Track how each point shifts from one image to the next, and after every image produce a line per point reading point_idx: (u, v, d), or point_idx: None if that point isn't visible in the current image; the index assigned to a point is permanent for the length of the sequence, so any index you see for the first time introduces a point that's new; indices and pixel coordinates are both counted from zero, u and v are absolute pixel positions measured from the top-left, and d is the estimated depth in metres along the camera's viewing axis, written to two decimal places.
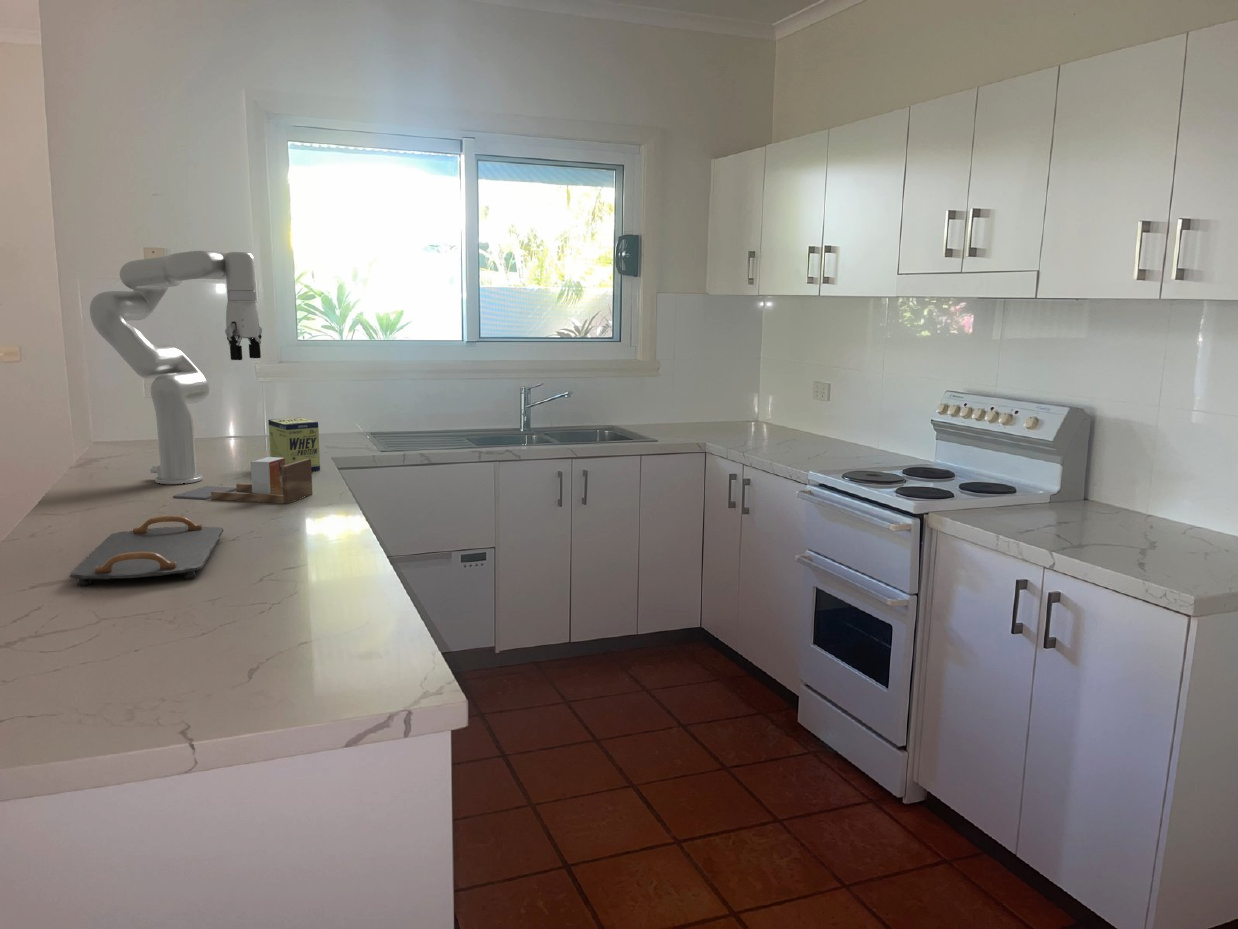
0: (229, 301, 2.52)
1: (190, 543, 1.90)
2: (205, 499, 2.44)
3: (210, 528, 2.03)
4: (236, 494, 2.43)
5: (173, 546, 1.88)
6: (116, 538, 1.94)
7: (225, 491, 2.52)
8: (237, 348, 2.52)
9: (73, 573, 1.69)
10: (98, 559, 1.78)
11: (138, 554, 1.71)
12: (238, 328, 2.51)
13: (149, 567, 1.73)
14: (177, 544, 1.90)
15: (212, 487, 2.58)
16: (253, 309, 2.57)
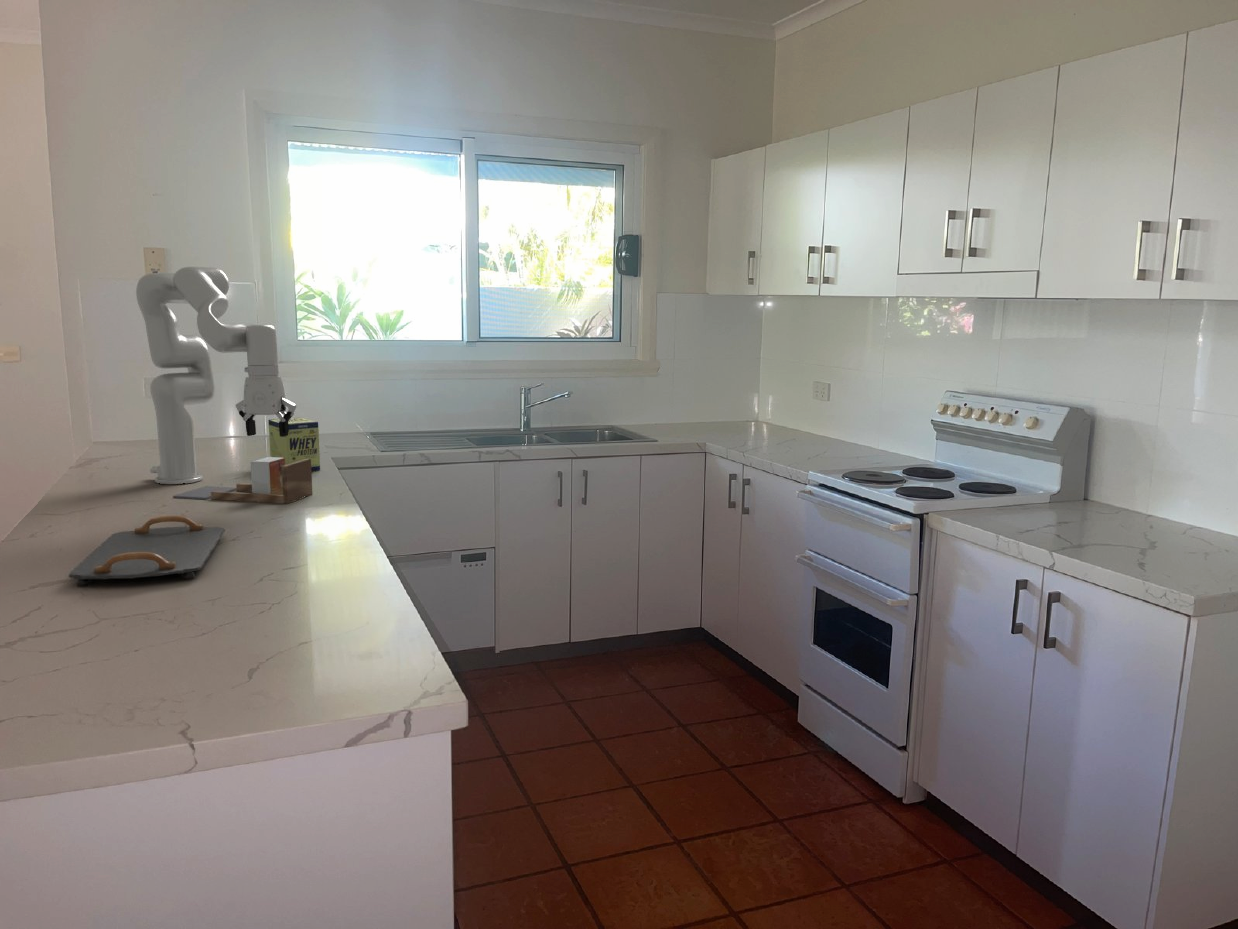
0: (270, 376, 2.40)
1: (190, 543, 1.90)
2: (205, 499, 2.44)
3: (211, 528, 2.03)
4: (236, 494, 2.43)
5: (173, 546, 1.88)
6: (117, 538, 1.94)
7: (225, 491, 2.52)
8: None
9: (72, 573, 1.69)
10: (98, 559, 1.78)
11: (137, 554, 1.71)
12: None
13: (148, 567, 1.73)
14: (177, 544, 1.89)
15: (212, 487, 2.58)
16: None
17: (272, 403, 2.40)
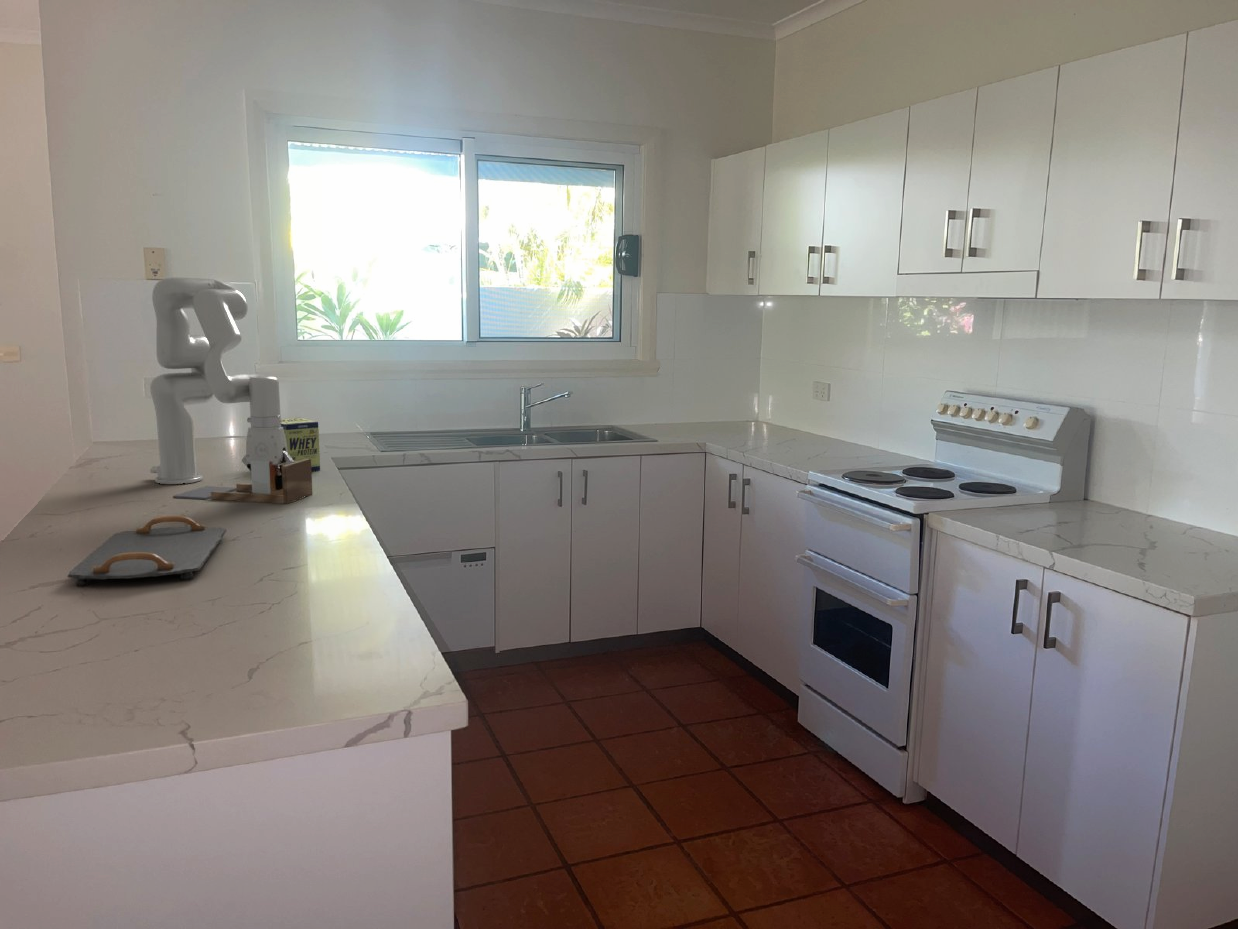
0: (272, 428, 2.42)
1: (191, 543, 1.90)
2: (205, 499, 2.44)
3: (213, 528, 2.03)
4: (236, 494, 2.43)
5: (174, 546, 1.88)
6: (119, 538, 1.94)
7: (225, 491, 2.52)
8: None
9: (71, 573, 1.69)
10: (98, 559, 1.78)
11: (136, 554, 1.70)
12: None
13: (147, 567, 1.73)
14: (178, 544, 1.89)
15: (212, 487, 2.58)
16: None
17: (274, 454, 2.43)
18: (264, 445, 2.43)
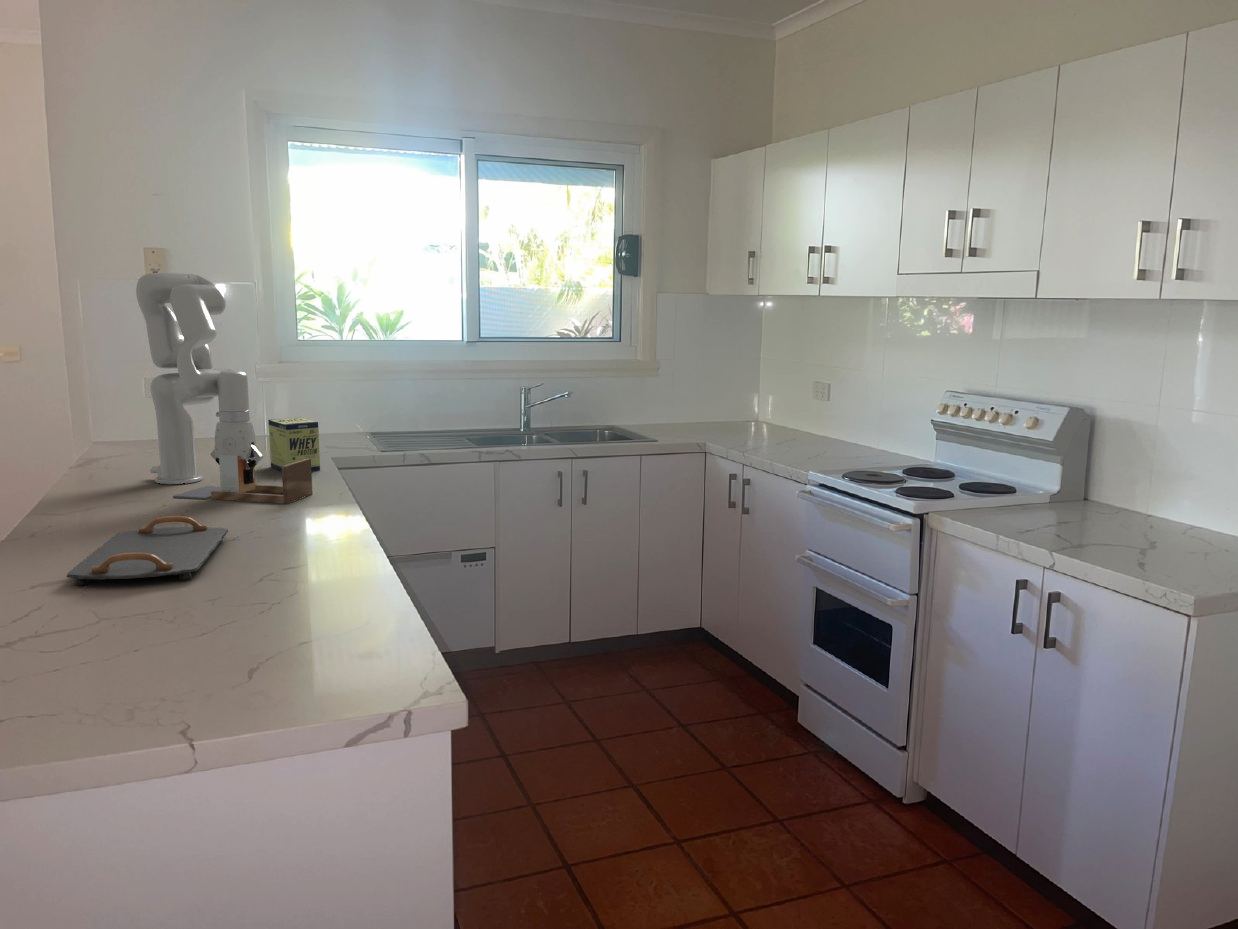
0: (241, 422, 2.44)
1: (192, 544, 1.90)
2: (205, 499, 2.44)
3: (215, 529, 2.03)
4: (236, 494, 2.43)
5: (174, 547, 1.87)
6: (121, 538, 1.94)
7: None
8: None
9: (70, 573, 1.69)
10: (98, 559, 1.78)
11: (134, 555, 1.70)
12: (255, 448, 2.48)
13: (145, 568, 1.72)
14: (179, 545, 1.89)
15: (212, 487, 2.58)
16: None
17: (242, 449, 2.44)
18: (232, 439, 2.44)
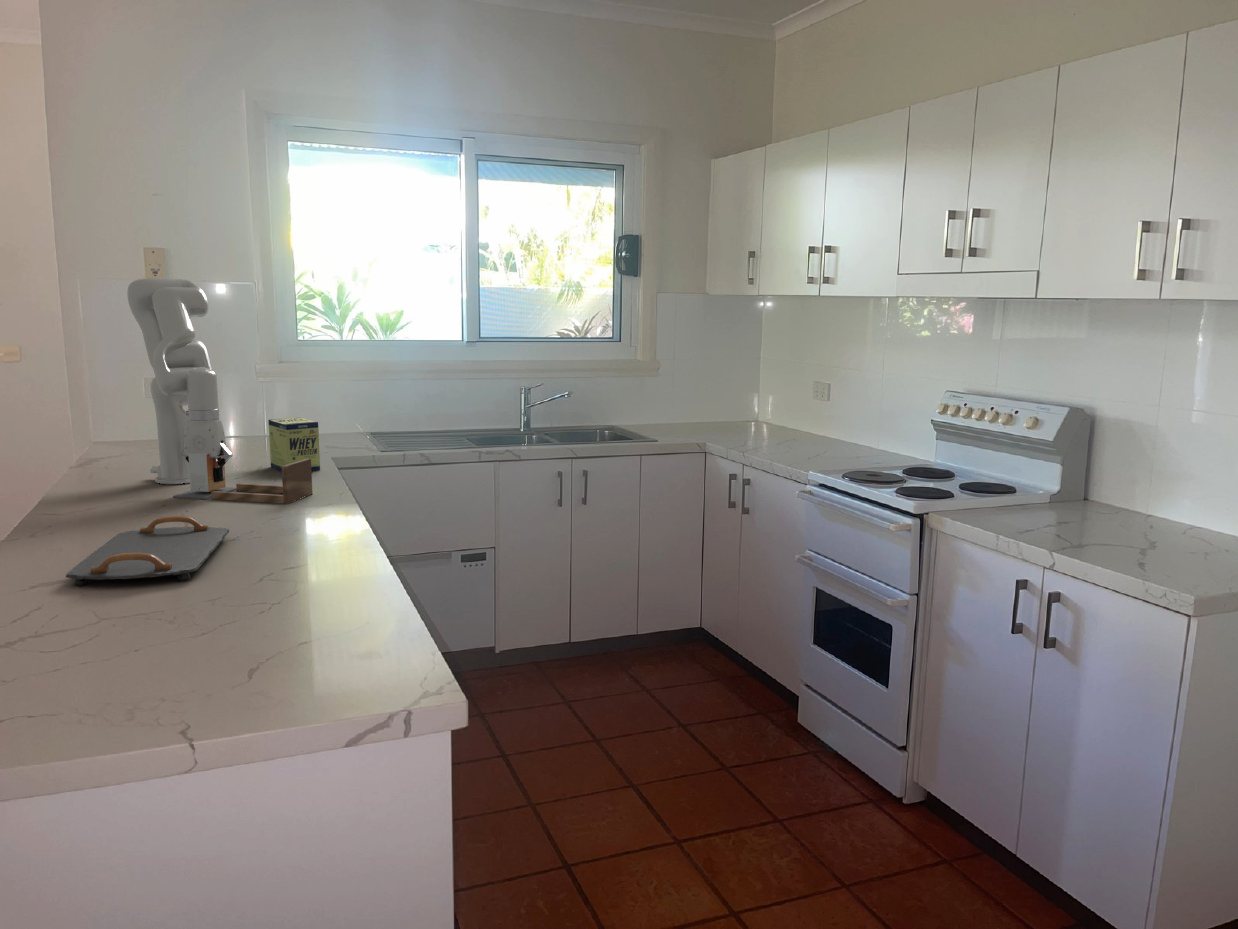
0: (210, 421, 2.46)
1: (192, 544, 1.90)
2: (205, 499, 2.44)
3: (216, 529, 2.03)
4: (236, 494, 2.43)
5: (174, 547, 1.87)
6: (122, 538, 1.94)
7: (225, 491, 2.52)
8: None
9: (69, 573, 1.69)
10: (98, 559, 1.78)
11: (133, 555, 1.70)
12: None
13: (144, 568, 1.72)
14: (179, 545, 1.89)
15: None
16: None
17: (211, 447, 2.46)
18: (202, 438, 2.46)
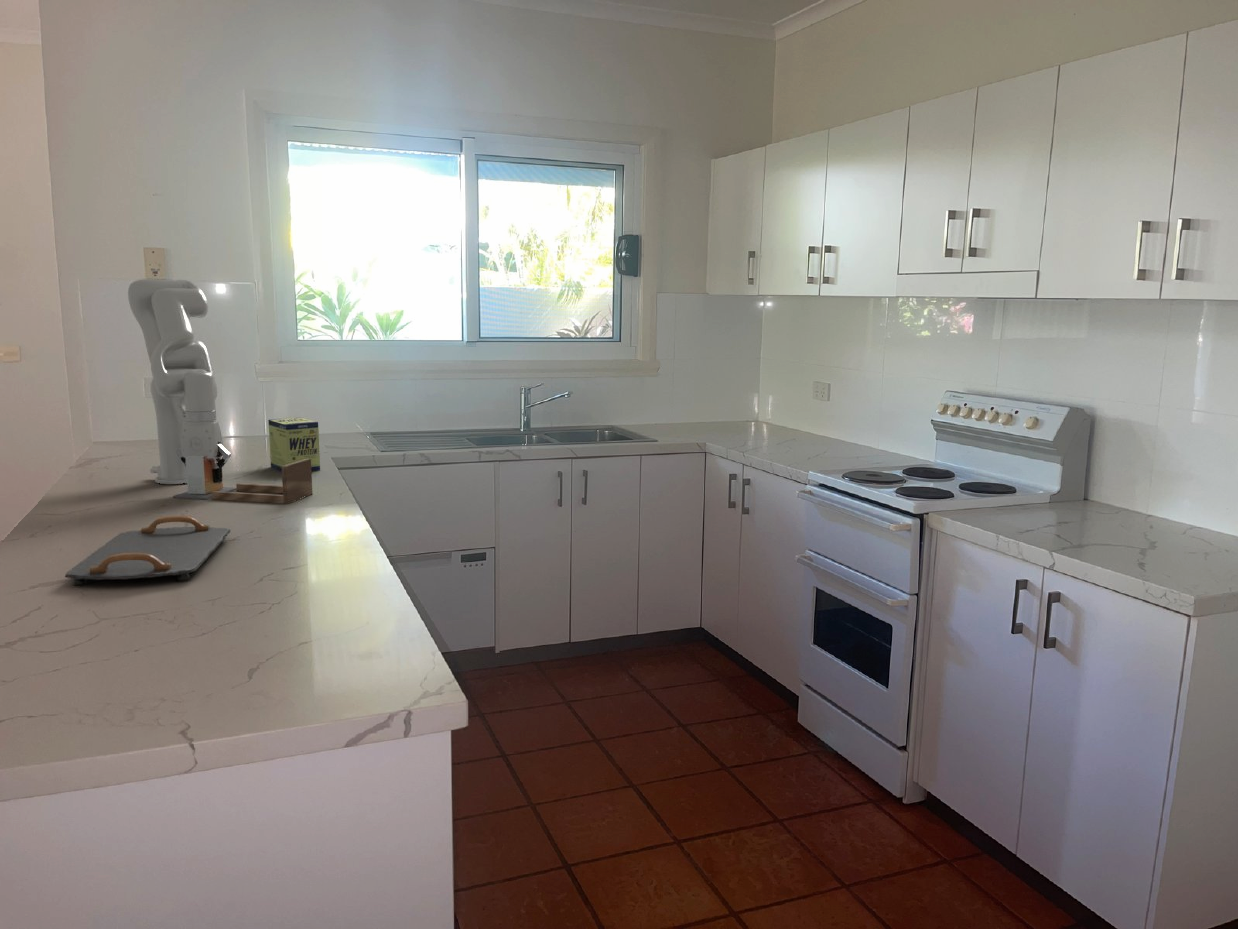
0: (207, 422, 2.46)
1: (192, 544, 1.90)
2: (205, 499, 2.44)
3: (217, 529, 2.03)
4: (236, 494, 2.43)
5: (175, 547, 1.87)
6: (123, 537, 1.94)
7: (225, 491, 2.52)
8: None
9: (69, 573, 1.69)
10: (98, 559, 1.78)
11: (132, 555, 1.70)
12: None
13: (144, 568, 1.72)
14: (179, 545, 1.89)
15: None
16: None
17: (209, 448, 2.46)
18: (199, 439, 2.46)
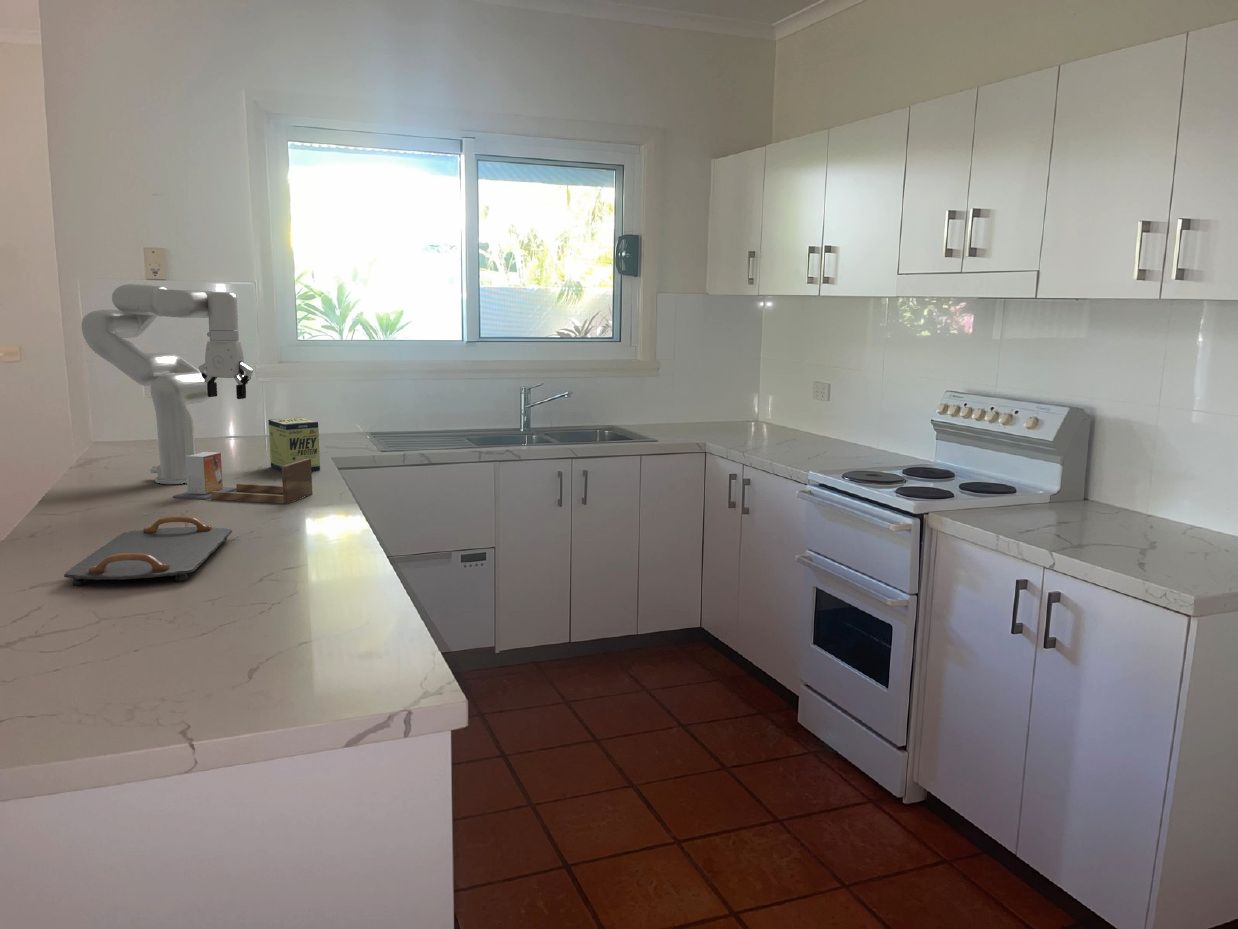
0: (229, 341, 2.53)
1: (193, 544, 1.89)
2: (205, 499, 2.44)
3: (219, 529, 2.02)
4: (236, 494, 2.43)
5: (175, 547, 1.87)
6: (125, 537, 1.94)
7: (225, 491, 2.52)
8: None
9: (67, 573, 1.69)
10: (98, 559, 1.78)
11: (130, 555, 1.70)
12: None
13: (142, 568, 1.72)
14: (180, 545, 1.89)
15: None
16: None
17: (230, 367, 2.54)
18: (221, 358, 2.54)
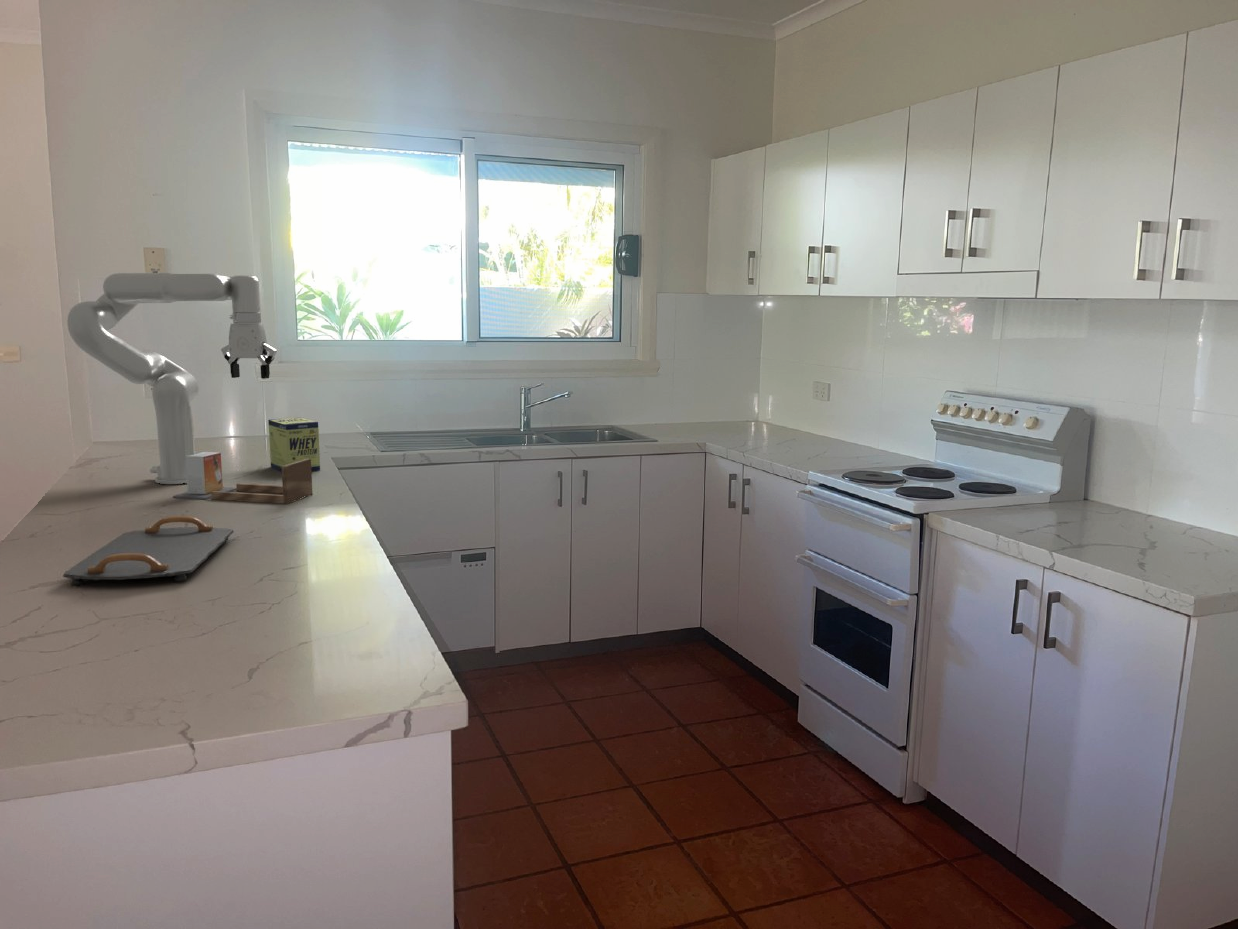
0: (253, 323, 2.63)
1: (193, 545, 1.89)
2: (205, 499, 2.44)
3: (220, 530, 2.02)
4: (236, 494, 2.43)
5: (175, 547, 1.87)
6: (126, 537, 1.94)
7: (225, 491, 2.52)
8: None
9: (67, 572, 1.69)
10: (98, 559, 1.78)
11: (129, 555, 1.70)
12: None
13: (141, 569, 1.72)
14: (180, 545, 1.89)
15: None
16: None
17: (254, 347, 2.63)
18: (245, 339, 2.63)
